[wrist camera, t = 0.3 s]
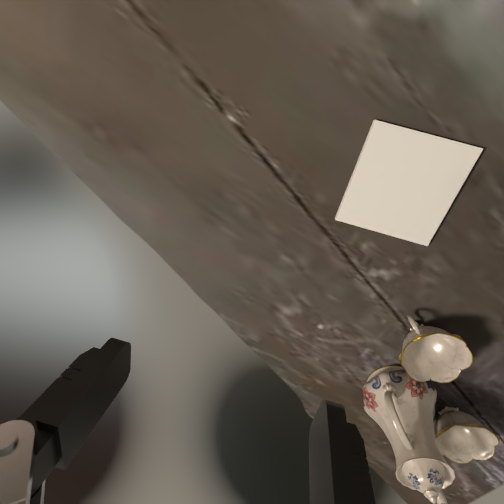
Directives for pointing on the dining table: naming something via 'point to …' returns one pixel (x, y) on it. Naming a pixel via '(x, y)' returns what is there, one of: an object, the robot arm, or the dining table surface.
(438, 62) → the dining table surface
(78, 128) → the dining table surface
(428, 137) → the pad
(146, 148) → the dining table surface
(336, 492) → the robot arm
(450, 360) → the chinaware
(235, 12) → the dining table surface
